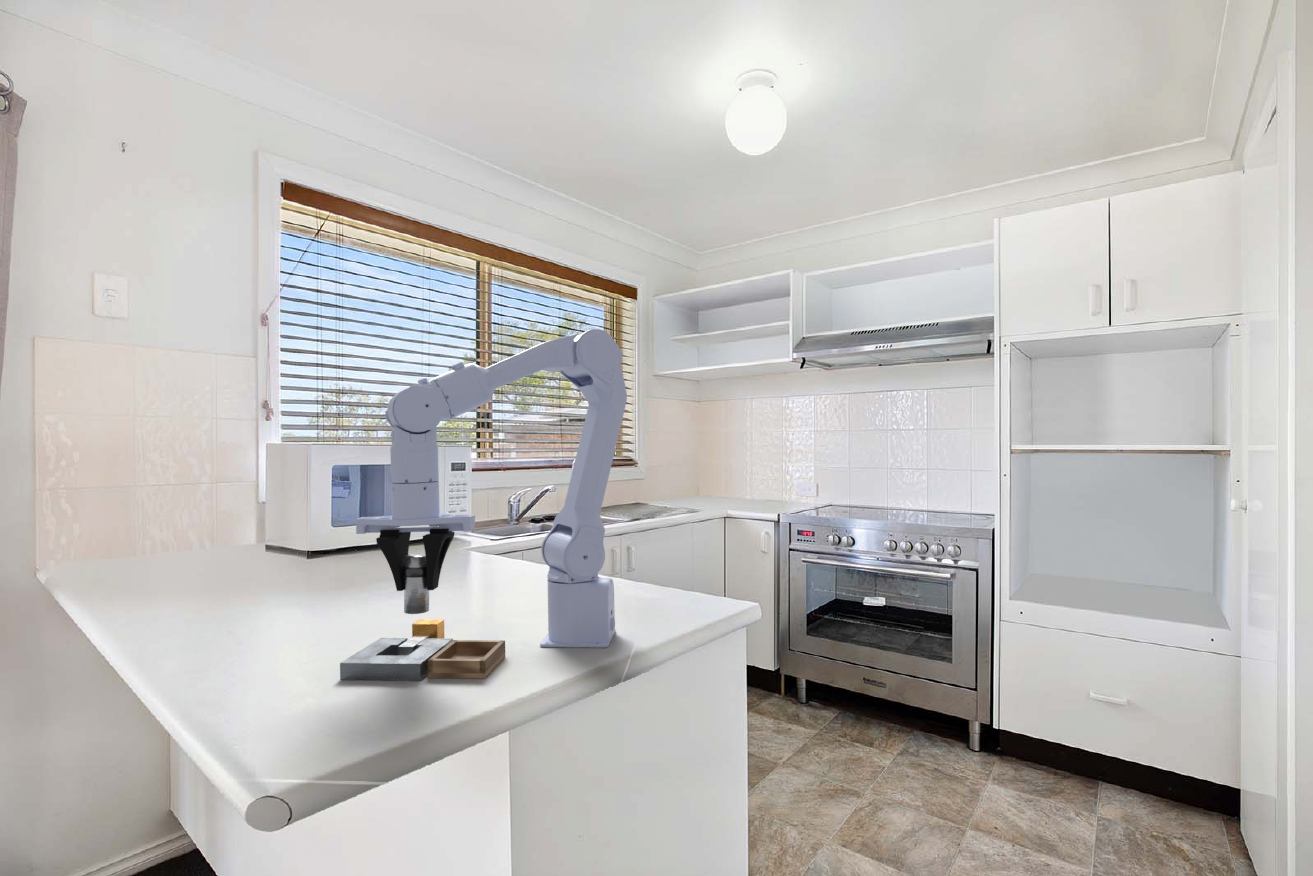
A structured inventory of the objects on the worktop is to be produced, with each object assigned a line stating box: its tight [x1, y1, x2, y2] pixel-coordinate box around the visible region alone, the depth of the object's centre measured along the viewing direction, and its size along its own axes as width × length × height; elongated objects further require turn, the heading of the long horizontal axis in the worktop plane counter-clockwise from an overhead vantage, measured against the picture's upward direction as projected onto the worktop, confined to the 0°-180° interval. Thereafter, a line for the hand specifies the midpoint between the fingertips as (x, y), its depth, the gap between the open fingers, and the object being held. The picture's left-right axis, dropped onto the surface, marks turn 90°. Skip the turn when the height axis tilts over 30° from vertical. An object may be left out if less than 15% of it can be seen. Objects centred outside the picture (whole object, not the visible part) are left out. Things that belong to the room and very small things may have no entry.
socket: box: [339, 637, 454, 682], centre depth 84 cm, size 10×10×2 cm
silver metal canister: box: [403, 553, 430, 615], centre depth 84 cm, size 3×3×7 cm
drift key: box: [398, 618, 445, 656], centre depth 90 cm, size 8×4×3 cm, turn 175°
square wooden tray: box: [427, 639, 506, 679], centre depth 83 cm, size 7×8×2 cm
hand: (417, 589), depth 84 cm, fingers closed on silver metal canister, 3 cm apart
